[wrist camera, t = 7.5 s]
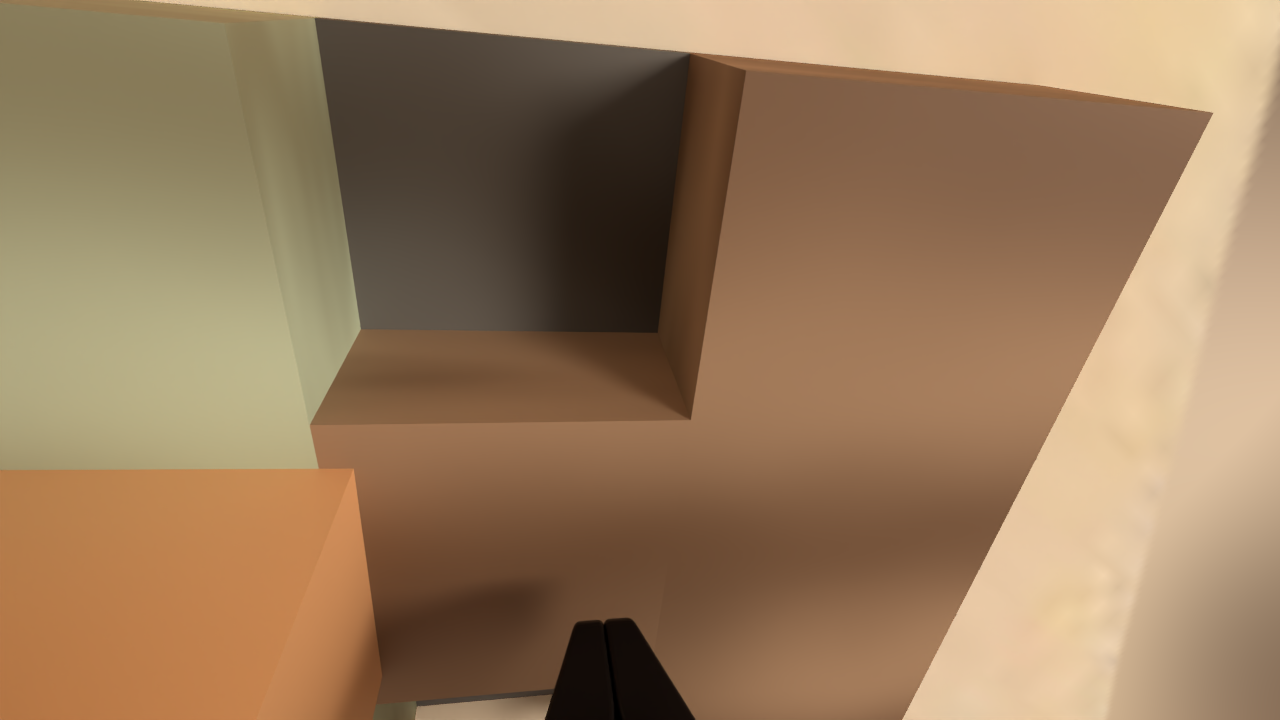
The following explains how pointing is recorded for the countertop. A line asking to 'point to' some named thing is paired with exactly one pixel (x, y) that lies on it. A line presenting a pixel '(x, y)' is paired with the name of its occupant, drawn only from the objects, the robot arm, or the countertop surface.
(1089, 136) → the trap board
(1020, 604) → the countertop surface
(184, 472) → the block
